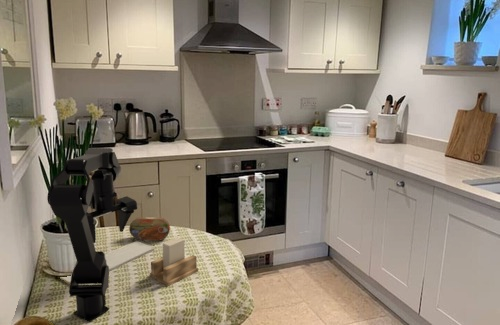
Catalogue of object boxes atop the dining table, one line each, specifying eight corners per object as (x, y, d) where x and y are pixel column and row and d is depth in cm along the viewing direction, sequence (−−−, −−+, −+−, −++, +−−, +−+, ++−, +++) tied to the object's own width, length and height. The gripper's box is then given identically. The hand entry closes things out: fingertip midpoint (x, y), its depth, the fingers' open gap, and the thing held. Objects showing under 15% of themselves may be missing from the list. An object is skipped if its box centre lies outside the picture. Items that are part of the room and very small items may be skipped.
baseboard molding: (52, 277, 124) (76, 289, 118) (52, 268, 123) (75, 281, 117) (132, 242, 149) (154, 251, 143) (131, 235, 149) (154, 244, 142)
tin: (129, 239, 151) (128, 218, 149) (132, 236, 154) (131, 215, 152) (169, 241, 150) (168, 220, 149) (170, 237, 154) (170, 217, 152)
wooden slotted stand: (168, 286, 119) (167, 270, 118) (150, 275, 125) (149, 261, 124) (197, 271, 128) (197, 257, 127) (179, 262, 134) (179, 248, 133)
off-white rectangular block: (170, 275, 123) (169, 246, 121) (163, 272, 125) (162, 243, 123) (184, 268, 128) (184, 239, 125) (178, 265, 130) (177, 237, 127)
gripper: (116, 174, 128) (120, 218, 133) (58, 190, 114) (65, 238, 119) (137, 183, 121) (139, 229, 126) (78, 202, 108) (83, 252, 113)
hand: (107, 236), depth 121 cm, fingers open, 9 cm apart
